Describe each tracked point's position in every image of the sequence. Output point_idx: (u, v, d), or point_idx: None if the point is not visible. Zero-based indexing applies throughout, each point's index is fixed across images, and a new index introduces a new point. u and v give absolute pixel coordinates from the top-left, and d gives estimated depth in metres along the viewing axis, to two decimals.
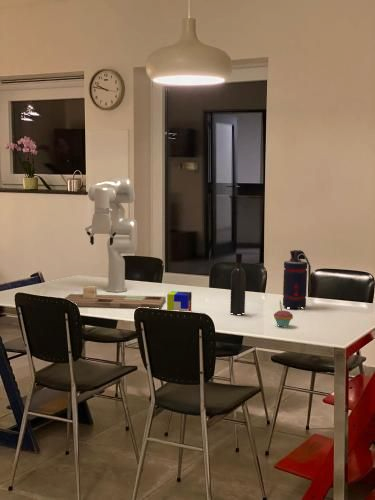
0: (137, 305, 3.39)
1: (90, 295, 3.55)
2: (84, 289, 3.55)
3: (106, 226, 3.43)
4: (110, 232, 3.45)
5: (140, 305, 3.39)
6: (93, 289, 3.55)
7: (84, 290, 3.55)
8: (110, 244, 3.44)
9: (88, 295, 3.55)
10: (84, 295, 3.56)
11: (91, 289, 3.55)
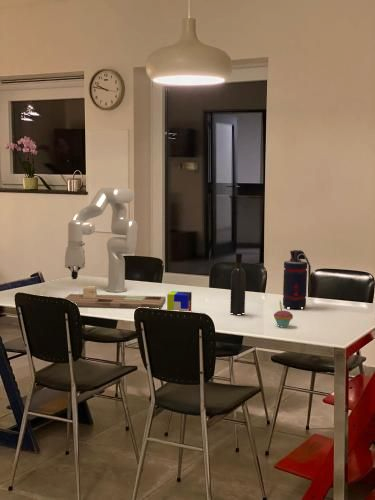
0: (137, 305, 3.39)
1: (90, 295, 3.55)
2: (84, 289, 3.55)
3: (79, 259, 3.54)
4: (78, 267, 3.56)
5: (140, 305, 3.39)
6: (93, 289, 3.55)
7: (84, 290, 3.55)
8: (74, 278, 3.56)
9: (88, 295, 3.55)
10: (84, 295, 3.56)
11: (91, 289, 3.55)
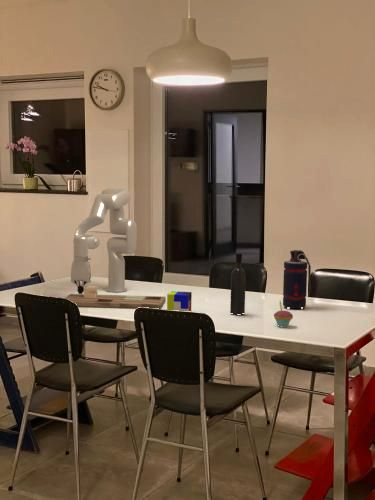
0: (137, 305, 3.39)
1: (91, 295, 3.55)
2: (85, 289, 3.55)
3: (85, 274, 3.55)
4: (84, 281, 3.57)
5: (140, 305, 3.39)
6: (94, 289, 3.55)
7: (85, 290, 3.55)
8: (80, 293, 3.57)
9: (89, 295, 3.55)
10: (85, 295, 3.56)
11: (92, 289, 3.55)
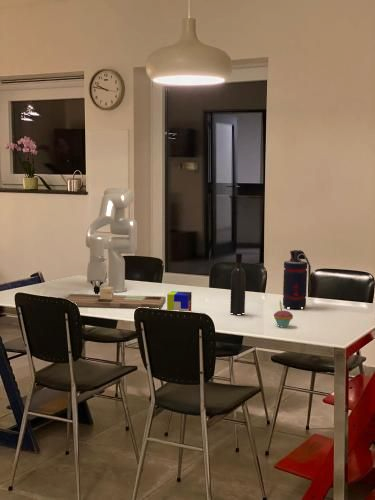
0: (137, 305, 3.39)
1: (107, 296, 3.54)
2: (100, 290, 3.54)
3: (101, 274, 3.54)
4: (100, 282, 3.57)
5: (140, 305, 3.39)
6: (109, 290, 3.54)
7: (100, 291, 3.54)
8: (97, 293, 3.56)
9: (104, 296, 3.54)
10: (100, 296, 3.54)
11: (107, 290, 3.54)
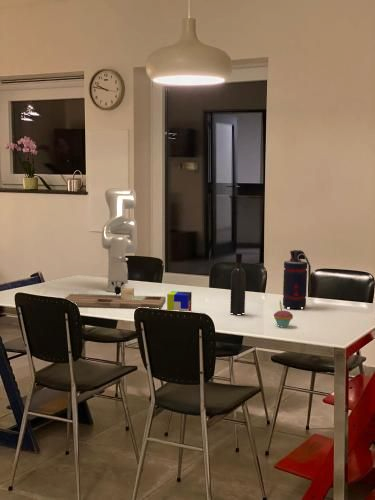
0: (137, 305, 3.39)
1: (128, 296, 3.53)
2: (122, 290, 3.53)
3: (122, 274, 3.54)
4: None
5: (140, 305, 3.39)
6: (131, 290, 3.53)
7: (122, 291, 3.53)
8: (118, 294, 3.56)
9: (126, 296, 3.53)
10: (122, 296, 3.53)
11: (129, 290, 3.53)
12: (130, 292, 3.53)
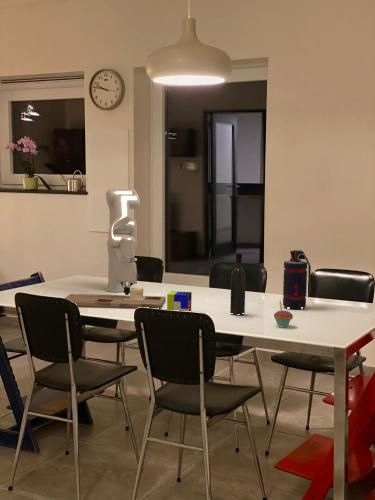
0: (137, 305, 3.39)
1: (137, 297, 3.52)
2: (131, 291, 3.52)
3: (131, 275, 3.53)
4: (130, 282, 3.55)
5: (140, 305, 3.39)
6: (140, 291, 3.52)
7: (131, 292, 3.52)
8: (127, 294, 3.55)
9: (135, 297, 3.52)
10: (131, 297, 3.53)
11: (138, 291, 3.52)
12: (139, 292, 3.52)
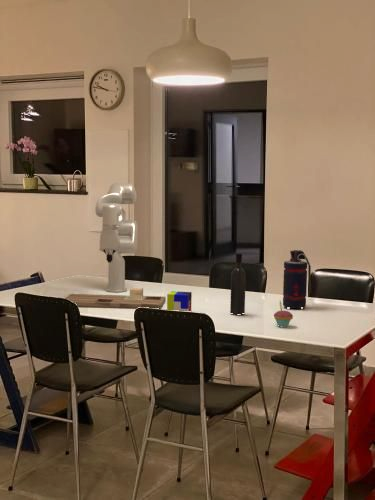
0: (137, 305, 3.39)
1: (137, 297, 3.52)
2: (131, 291, 3.52)
3: (114, 242, 3.55)
4: (113, 250, 3.57)
5: (140, 305, 3.39)
6: (140, 291, 3.52)
7: (131, 292, 3.52)
8: (109, 261, 3.57)
9: (135, 297, 3.52)
10: (131, 297, 3.53)
11: (138, 291, 3.52)
12: (139, 292, 3.52)
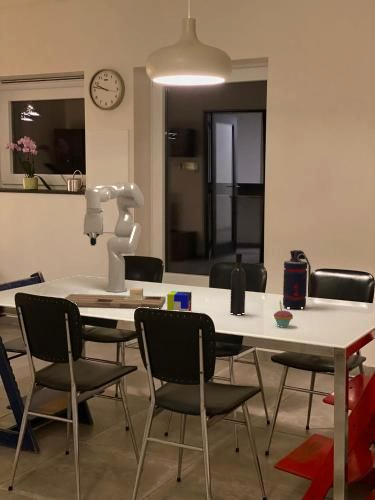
0: (137, 305, 3.39)
1: (137, 297, 3.52)
2: (131, 291, 3.52)
3: (97, 225, 3.60)
4: (96, 233, 3.62)
5: (140, 305, 3.39)
6: (140, 291, 3.52)
7: (131, 292, 3.52)
8: (93, 245, 3.62)
9: (135, 297, 3.52)
10: (131, 297, 3.53)
11: (138, 291, 3.52)
12: (139, 292, 3.52)
